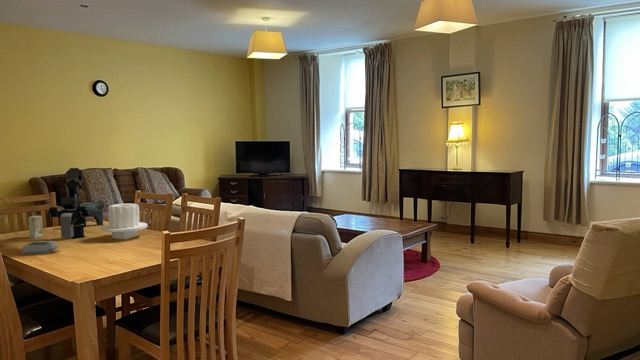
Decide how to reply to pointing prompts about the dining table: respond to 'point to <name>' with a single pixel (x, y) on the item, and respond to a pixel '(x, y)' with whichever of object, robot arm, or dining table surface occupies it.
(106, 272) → the dining table surface
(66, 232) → the dark gray plug block
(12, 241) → the dining table surface
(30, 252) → the socket holder
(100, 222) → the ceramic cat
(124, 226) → the ribbed cylinder on disc
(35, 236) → the skincare box
